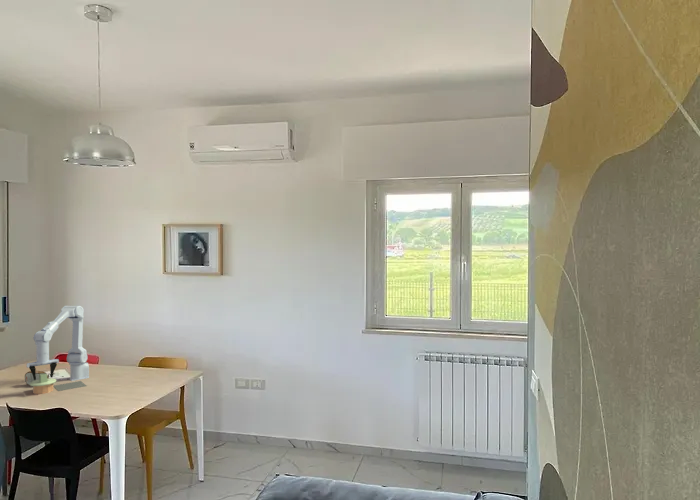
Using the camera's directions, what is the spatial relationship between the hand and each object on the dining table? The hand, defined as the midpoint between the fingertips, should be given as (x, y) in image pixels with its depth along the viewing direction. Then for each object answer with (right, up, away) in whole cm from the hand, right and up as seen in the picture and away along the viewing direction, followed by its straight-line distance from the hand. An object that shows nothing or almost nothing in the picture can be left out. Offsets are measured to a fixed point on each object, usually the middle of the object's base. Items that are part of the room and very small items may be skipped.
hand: (43, 378), depth 258 cm
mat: (+8, -7, +10) cm, 15 cm away
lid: (0, -2, 0) cm, 2 cm away
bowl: (0, -7, 0) cm, 7 cm away
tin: (-12, -8, +12) cm, 19 cm away
